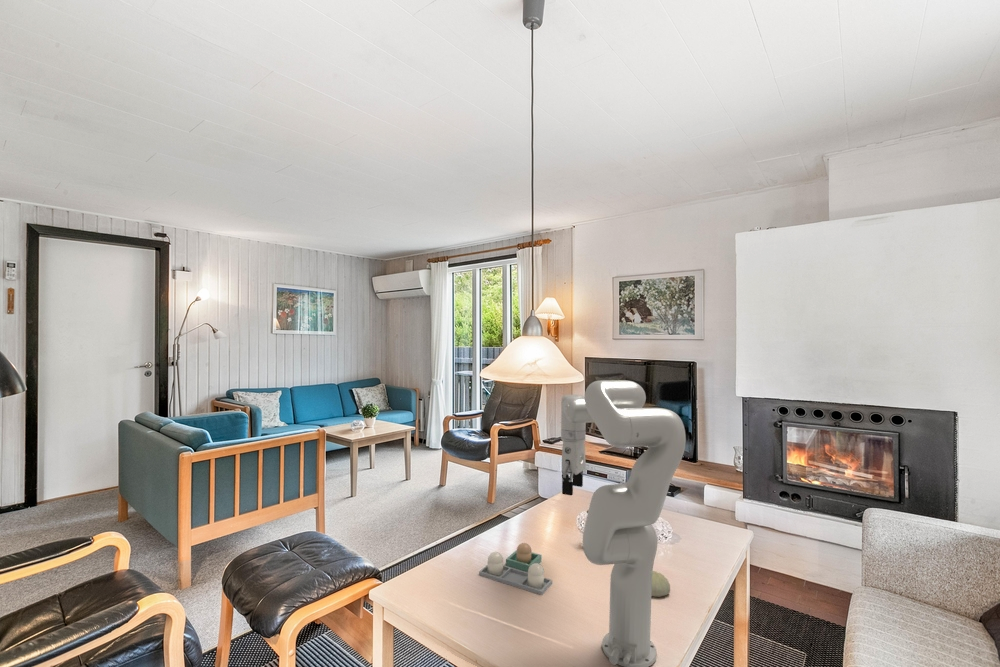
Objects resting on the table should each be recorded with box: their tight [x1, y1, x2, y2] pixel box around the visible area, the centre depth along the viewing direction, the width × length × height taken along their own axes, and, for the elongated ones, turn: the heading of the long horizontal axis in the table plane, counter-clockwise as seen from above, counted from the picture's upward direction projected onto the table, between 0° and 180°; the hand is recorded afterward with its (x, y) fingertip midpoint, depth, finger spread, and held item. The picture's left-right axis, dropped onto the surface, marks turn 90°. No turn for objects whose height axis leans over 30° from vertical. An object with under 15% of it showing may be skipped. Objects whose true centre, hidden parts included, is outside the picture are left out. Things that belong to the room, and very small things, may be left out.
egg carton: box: [478, 564, 553, 596], centre depth 146 cm, size 7×21×2 cm, turn 61°
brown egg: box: [516, 542, 533, 564], centre depth 155 cm, size 5×5×6 cm
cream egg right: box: [527, 563, 545, 590], centre depth 142 cm, size 5×5×6 cm
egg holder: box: [505, 549, 543, 573], centre depth 155 cm, size 9×9×3 cm
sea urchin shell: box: [651, 570, 671, 598], centre depth 142 cm, size 9×8×8 cm
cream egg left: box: [487, 551, 504, 577], centre depth 149 cm, size 5×5×6 cm
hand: (572, 490), depth 149 cm, fingers open, 9 cm apart
